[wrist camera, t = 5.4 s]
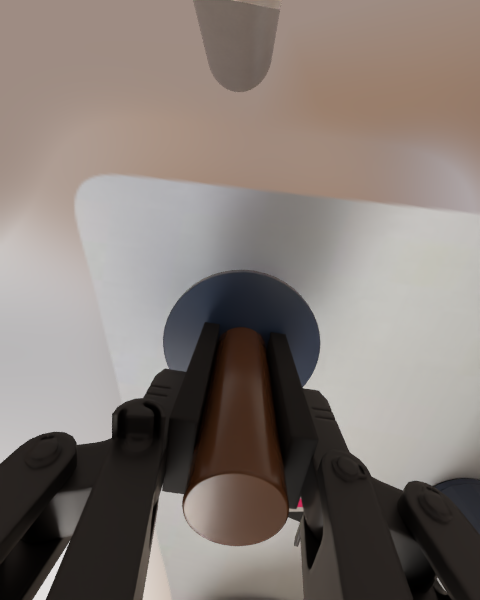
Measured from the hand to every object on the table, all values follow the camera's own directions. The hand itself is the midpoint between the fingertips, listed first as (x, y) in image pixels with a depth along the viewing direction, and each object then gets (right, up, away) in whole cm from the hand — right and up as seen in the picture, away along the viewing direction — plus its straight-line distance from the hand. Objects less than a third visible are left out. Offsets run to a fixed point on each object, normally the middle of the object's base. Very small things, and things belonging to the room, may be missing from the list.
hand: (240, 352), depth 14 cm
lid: (0, 0, +1) cm, 1 cm away
